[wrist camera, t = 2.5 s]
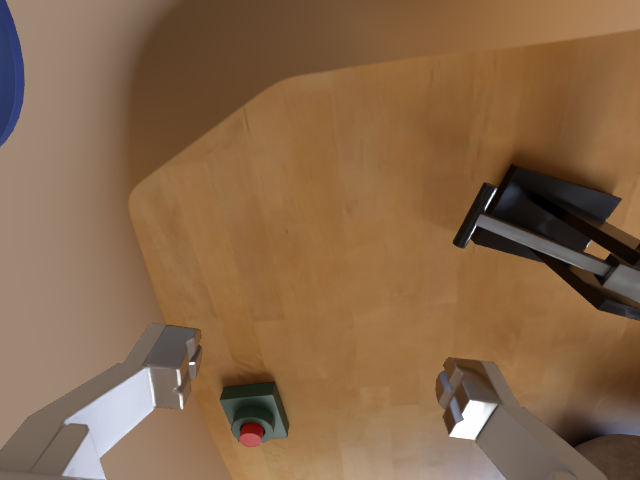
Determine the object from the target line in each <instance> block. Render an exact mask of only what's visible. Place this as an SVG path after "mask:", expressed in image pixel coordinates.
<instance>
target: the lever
mask: <svg viewBox="0 0 640 480" xmlns="http://www.w3.org/2000/svg"><path fill="white" fill-rule="evenodd" d="M497 189H498V187H496V186H495V185H492V184H490V183H486V182H484V183H483V185H482V187H481V189H480V191H479V193H478V194H477V196H476V198H475V200H474V202H473V204H472V206H471V208H470V210H469V212H468V213H467V215H466V217H465V219H464V221H463V223H462V225H461V227H460V229H459V231H458V232H457V234H456V236H455V238H454V240H453V242H452V243H453V244H454V245H455V246H457V247H459V248H465V247H466V245H467V243H468V242H469V240H470V238H471V236H472V234H473V232H474V231H475V229H476V227H477V226H479V227H482V228H484V229H487V230H489V231H492V232H494V233H497V234H499V235H501V236H504V237H506V238H509V239H511V240H514V241H516V242H519V243H521V244H523V245H526V246H528V247H531V248H533V249H536V250H538V251H541V252H543V253H545V254H548V255H550V256H553V257H555V258H558V259H560V260H562V261H565V262H567V263H570V264H572V265H575V266H577V267H580V268H582V269H584V270H587V271H589V272H592V273H594V276H595V278H596V279H597V280H598V282H599V283H600V285H601V286H602V287H604V288H606V289H608V290H611V291H613V292H616V293H618V294H620V295H623V296H625V297H628V298H630V299H632V300H635V301H637V302H640V268H636V267H633V266H632V265H630V264H629V263H627V262H626V261H624V260H622V259H621V258H619V257H618V256H616V255H614V254H611V253H610V254H609V256H608V257H607V258H606V260H603V259H600V258H598V257H595V256H593V255H590V254H588V253H585V252H582V251H580V250H577V249H575V248H572V247H570V246H567V245H565V244H562V243H560V242H557V241H555V240H552V239H550V238H547V237H545V236H542V235H540V234H537V233H534V232H532V231H529V230H527V229H524V228H522V227H519V226H517V225H514V224H512V223H509V222H507V221H504V220H502V219H499V218H497V217H494V216H492V215H489V214H486V213H485V211H486V209H487V207H488V205H489V203H490V202H491V200H492V198H493V196H494V194H495V193H496V191H497Z"/></svg>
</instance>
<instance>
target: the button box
mask: <svg viewBox="0 0 640 480" xmlns="http://www.w3.org/2000/svg"><path fill="white" fill-rule="evenodd" d="M220 402H221V404H222V406H223V409H224V411H225V413H226V415H227V417H228V420H229V422H230V424H231V431H232V433H233V435H234V436H235V437H236V438H237V440H238V442H240V441H239V437H240V433H241V429H242V426H243V424H245V423H251V422H253V423H257V424H260V425H261V426H262V427H263V429H264V431H263V437H262V442H261V443H264V442H266V441H268V440H270V439H276V438H287V437H288V428H289V423H288V420H287V417H286V414H285V411H284V408H283V405H282V402H281V399H280V396H279V393H278V390H277V387H276V384H275V382H271V383H261V384H252V385H242V386H232V387H224V388H223V391H222V394H221V397H220Z"/></svg>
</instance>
